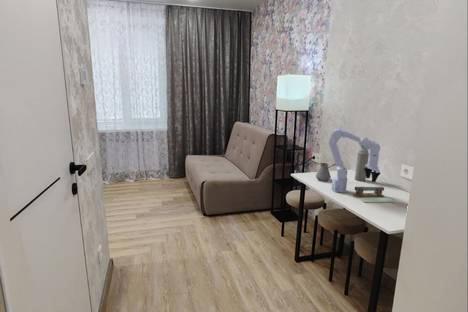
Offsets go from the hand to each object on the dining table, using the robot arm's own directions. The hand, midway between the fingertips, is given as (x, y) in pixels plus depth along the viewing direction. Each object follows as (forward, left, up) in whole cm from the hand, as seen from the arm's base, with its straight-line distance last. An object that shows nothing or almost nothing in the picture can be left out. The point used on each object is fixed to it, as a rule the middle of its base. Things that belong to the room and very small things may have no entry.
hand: (370, 180), depth 199 cm
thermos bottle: (+10, +32, -11) cm, 35 cm away
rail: (-1, -2, -6) cm, 7 cm away
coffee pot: (-15, +33, -11) cm, 38 cm away
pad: (0, -11, -10) cm, 15 cm away
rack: (-1, -2, -10) cm, 11 cm away
